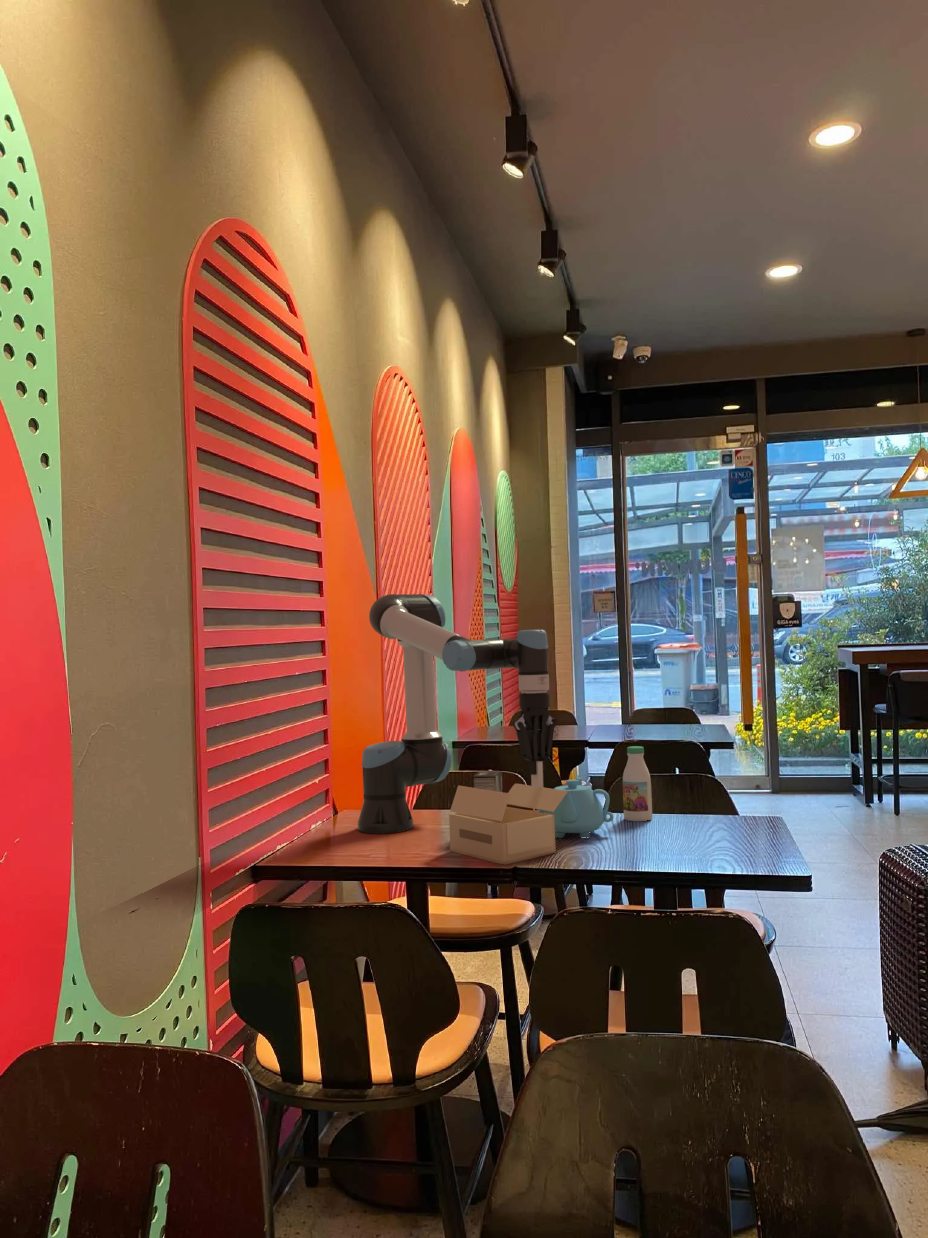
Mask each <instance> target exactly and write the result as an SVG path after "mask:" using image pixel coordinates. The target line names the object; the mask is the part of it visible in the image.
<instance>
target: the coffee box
mask: <svg viewBox="0 0 928 1238" xmlns="http://www.w3.org/2000/svg"><path fill="white" fill-rule="evenodd" d="M472 786H473V787H472V788H478V789H485V790H491V791H497V792H503V771H502V770H501V771H500V770H499V771H498V770H497V771H496V770H495V771H491V770H490V771H478V772H477V773H475V774H474V775H473V776H472Z"/></svg>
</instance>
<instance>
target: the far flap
mask: <svg viewBox="0 0 928 1238" xmlns="http://www.w3.org/2000/svg"><path fill="white" fill-rule="evenodd" d="M567 792H568V791H565V790H558V789H554V788H550V787H549V788H548V787H544V786H543V788H532V785H529V784H524V783H523V784H522V783H517V782H516V783H514V784H513V785H512V787H511V788H510V789H509V791H508V792H507V793H509V794H510V796H509V799H508V803H507V805H508V806H509V805H510V806H513V807H521V808H525V809H526V808H527V809H532V810H533V809H534V810H537V811H540V810H544V811H549V812H554V811H555V809H556V808H557V806H558V805H559V804H560V802H561V801H562V799H563V798H564V796H565V795H566V794H567Z"/></svg>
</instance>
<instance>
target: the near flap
mask: <svg viewBox="0 0 928 1238" xmlns="http://www.w3.org/2000/svg"><path fill="white" fill-rule="evenodd" d="M509 796H510V794H509V793H508V792H497V791H491V790H485V789H478V788H473V787H472V786H470V787H469V786H463V785H457V787H456V792H455V795H454V798H453V801H452V804H451V807H450V812H451V813H461V814H466V815H471V816H476V817H482V818H487V819H492V820H497V821H502V819H503V816H504V813H505V809H506V806H507V807H508V804H507V803H508V799H509Z"/></svg>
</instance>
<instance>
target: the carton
mask: <svg viewBox="0 0 928 1238" xmlns="http://www.w3.org/2000/svg"><path fill="white" fill-rule="evenodd" d="M448 821H449V846H450V847H449V848H450V849H449V850H450V851H449V852H451V853H455V854H456V853H457V854H460V855H464V856H468V857H472V858H475V859H479V860H484V861H488V862H491V863H496V864H500V865H503V864H504V866H505V865H509V864H514V863H517V862H518V863H519V862H521V861H526V860H527V861H528V860H531V859H535V858H540V857H544V856H549V855H553V853H554V854H556V853H557V852H556V849H557V848H556V838H555V833H556V831H555V822H554V815H553V814H547V813H541V812H537V811H534V810H529V809H523V808H517V807H511V806H508V805H507V806H506V809H505V813H504V816H503V819H502V821H497V820H492V819H487V818H482V817H476V816H471V815H466V814H461V813H456V812H451V813H449V815H448Z"/></svg>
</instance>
